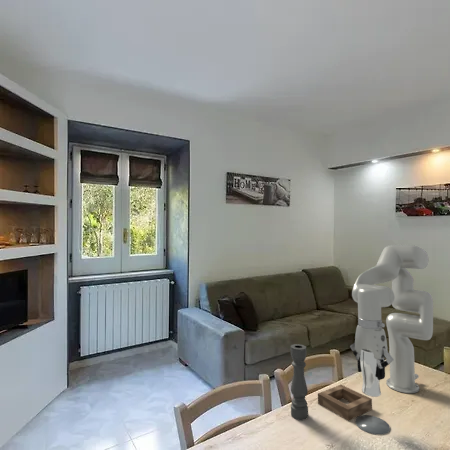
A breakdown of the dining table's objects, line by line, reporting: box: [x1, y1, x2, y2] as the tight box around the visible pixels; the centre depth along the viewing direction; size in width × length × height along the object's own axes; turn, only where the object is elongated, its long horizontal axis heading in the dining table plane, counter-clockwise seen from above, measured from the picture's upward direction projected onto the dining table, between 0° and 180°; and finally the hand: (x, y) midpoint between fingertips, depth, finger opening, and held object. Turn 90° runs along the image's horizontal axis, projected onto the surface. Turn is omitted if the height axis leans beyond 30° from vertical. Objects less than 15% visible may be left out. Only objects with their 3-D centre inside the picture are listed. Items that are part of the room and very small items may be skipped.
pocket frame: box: [317, 384, 373, 422], centre depth 124 cm, size 14×14×4 cm
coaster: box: [354, 414, 391, 435], centre depth 111 cm, size 11×11×1 cm
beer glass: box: [360, 349, 382, 398], centre depth 112 cm, size 7×7×15 cm
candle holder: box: [290, 343, 309, 421], centre depth 118 cm, size 6×6×25 cm
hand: (370, 374), depth 112 cm, fingers closed on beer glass, 6 cm apart
